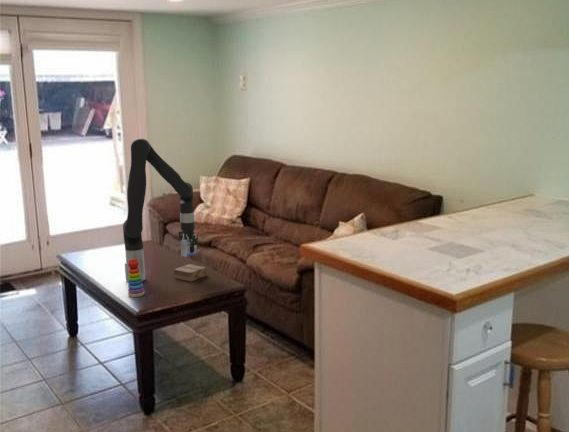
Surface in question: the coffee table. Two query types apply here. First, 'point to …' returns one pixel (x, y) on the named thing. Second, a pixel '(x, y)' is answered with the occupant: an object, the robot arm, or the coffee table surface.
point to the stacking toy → (135, 279)
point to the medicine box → (187, 248)
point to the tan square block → (190, 272)
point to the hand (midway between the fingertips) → (189, 251)
